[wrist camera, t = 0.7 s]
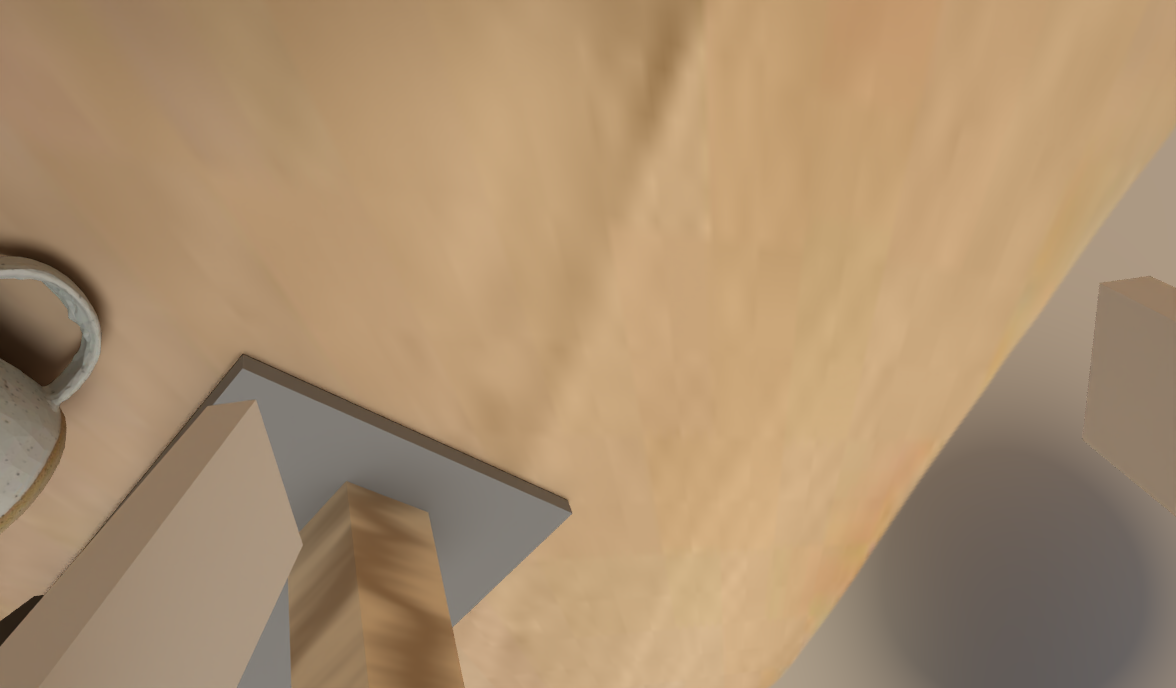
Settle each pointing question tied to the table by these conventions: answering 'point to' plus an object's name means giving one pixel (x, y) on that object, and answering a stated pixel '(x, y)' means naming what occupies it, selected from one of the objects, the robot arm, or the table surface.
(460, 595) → the felt mat
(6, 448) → the ceramic mug
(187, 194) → the table surface
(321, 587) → the beech block
